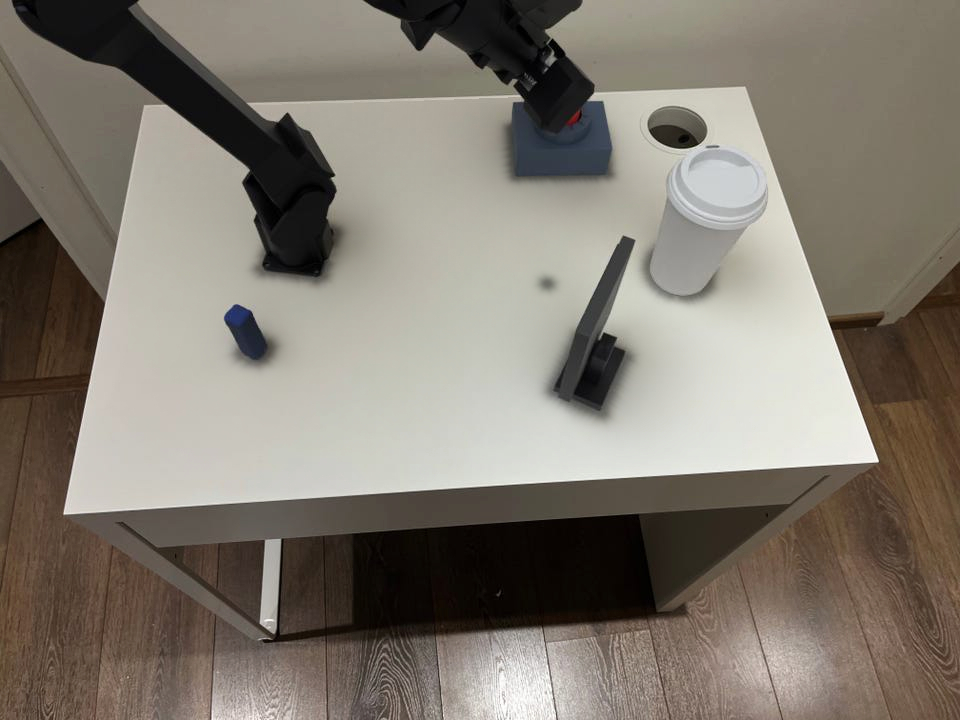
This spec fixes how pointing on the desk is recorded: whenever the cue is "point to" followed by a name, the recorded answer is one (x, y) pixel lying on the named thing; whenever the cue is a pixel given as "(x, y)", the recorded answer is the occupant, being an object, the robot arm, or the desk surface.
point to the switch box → (562, 144)
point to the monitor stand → (597, 373)
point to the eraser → (246, 331)
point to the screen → (595, 317)
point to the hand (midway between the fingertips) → (563, 83)
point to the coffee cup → (705, 215)
